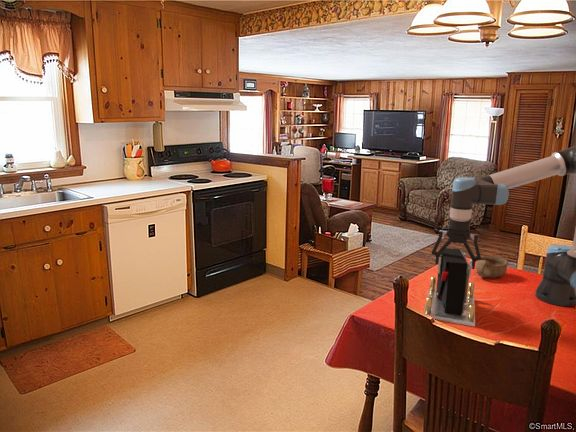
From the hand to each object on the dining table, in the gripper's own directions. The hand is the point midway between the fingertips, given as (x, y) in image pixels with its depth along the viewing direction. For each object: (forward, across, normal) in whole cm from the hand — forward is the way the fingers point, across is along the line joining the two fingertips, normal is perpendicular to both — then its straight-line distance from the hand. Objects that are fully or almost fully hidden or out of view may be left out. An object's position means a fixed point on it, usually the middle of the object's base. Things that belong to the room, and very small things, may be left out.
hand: (453, 274), depth 174 cm
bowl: (+14, -16, -45) cm, 50 cm away
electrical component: (+12, 0, 0) cm, 12 cm away
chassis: (+14, 0, 0) cm, 14 cm away
